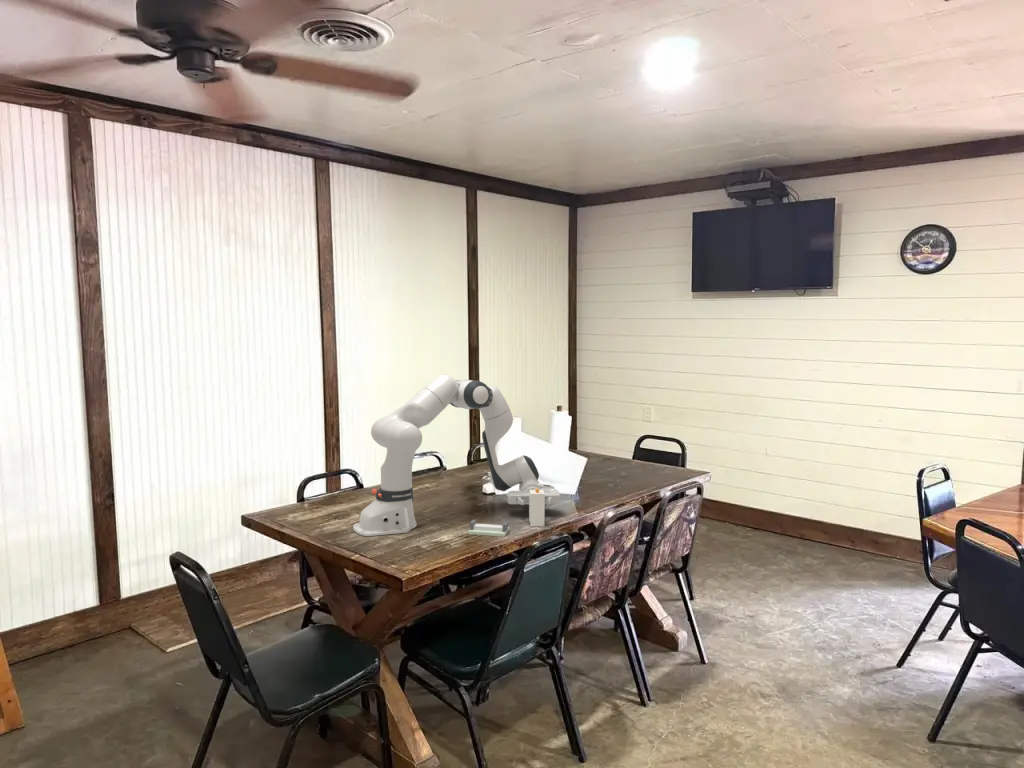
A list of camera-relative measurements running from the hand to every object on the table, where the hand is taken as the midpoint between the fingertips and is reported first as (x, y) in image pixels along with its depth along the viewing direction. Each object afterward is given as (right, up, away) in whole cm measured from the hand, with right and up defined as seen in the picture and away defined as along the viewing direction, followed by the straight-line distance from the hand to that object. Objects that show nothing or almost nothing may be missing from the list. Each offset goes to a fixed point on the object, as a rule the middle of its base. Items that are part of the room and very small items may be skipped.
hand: (535, 502), depth 258 cm
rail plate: (-17, -8, -13) cm, 23 cm away
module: (0, -7, -3) cm, 8 cm away
